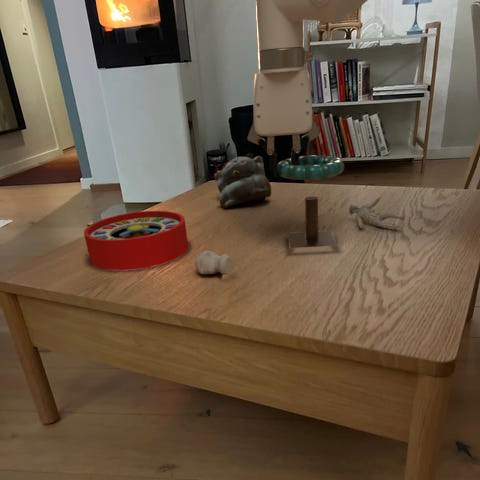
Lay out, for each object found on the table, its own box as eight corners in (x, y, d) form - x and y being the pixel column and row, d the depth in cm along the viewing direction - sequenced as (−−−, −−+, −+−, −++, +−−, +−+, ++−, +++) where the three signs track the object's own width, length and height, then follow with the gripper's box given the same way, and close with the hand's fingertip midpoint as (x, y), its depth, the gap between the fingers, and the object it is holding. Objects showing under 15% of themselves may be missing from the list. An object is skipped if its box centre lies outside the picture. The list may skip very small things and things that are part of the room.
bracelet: (338, 166, 92) (339, 153, 91) (347, 179, 81) (348, 164, 80) (276, 169, 93) (276, 156, 92) (277, 183, 82) (277, 168, 81)
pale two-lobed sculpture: (193, 278, 86) (213, 262, 88) (220, 289, 80) (241, 271, 82) (184, 258, 83) (205, 242, 85) (211, 268, 78) (233, 251, 80)
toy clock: (129, 208, 107) (203, 213, 98) (134, 233, 110) (206, 241, 101) (61, 235, 92) (141, 245, 83) (69, 263, 95) (147, 276, 85)
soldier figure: (387, 239, 95) (337, 215, 100) (389, 248, 100) (341, 224, 105) (409, 207, 95) (358, 184, 100) (410, 218, 100) (361, 195, 105)
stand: (332, 236, 97) (333, 191, 93) (337, 251, 89) (338, 202, 85) (288, 238, 98) (287, 193, 94) (289, 253, 90) (288, 205, 86)
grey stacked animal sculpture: (211, 210, 122) (200, 157, 122) (230, 216, 133) (220, 168, 133) (265, 192, 116) (253, 137, 116) (280, 200, 127) (269, 150, 127)
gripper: (328, 58, 81) (326, 168, 90) (234, 66, 83) (242, 174, 92) (333, 58, 75) (331, 177, 84) (231, 66, 76) (239, 182, 85)
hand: (284, 174), depth 87 cm, fingers closed on bracelet, 2 cm apart
